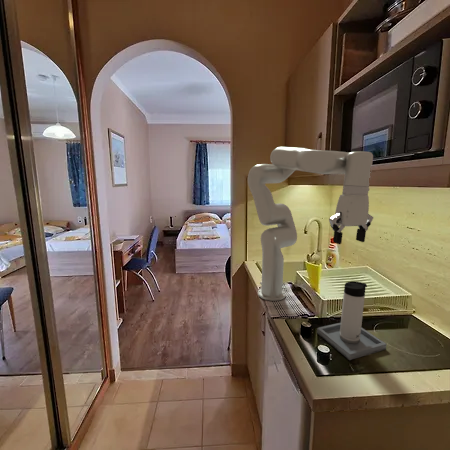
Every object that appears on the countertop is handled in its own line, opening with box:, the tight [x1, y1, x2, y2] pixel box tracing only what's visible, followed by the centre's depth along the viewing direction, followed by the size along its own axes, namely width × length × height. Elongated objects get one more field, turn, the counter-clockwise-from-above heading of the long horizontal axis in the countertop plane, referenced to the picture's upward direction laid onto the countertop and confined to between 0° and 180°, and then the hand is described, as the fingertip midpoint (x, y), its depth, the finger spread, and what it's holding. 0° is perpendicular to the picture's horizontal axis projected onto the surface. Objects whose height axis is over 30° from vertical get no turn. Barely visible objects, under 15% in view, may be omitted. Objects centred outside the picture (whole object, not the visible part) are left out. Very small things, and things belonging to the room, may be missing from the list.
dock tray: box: [316, 322, 387, 361], centre depth 92 cm, size 15×15×2 cm
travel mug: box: [340, 281, 368, 344], centre depth 90 cm, size 6×7×20 cm
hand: (348, 242), depth 92 cm, fingers open, 9 cm apart
